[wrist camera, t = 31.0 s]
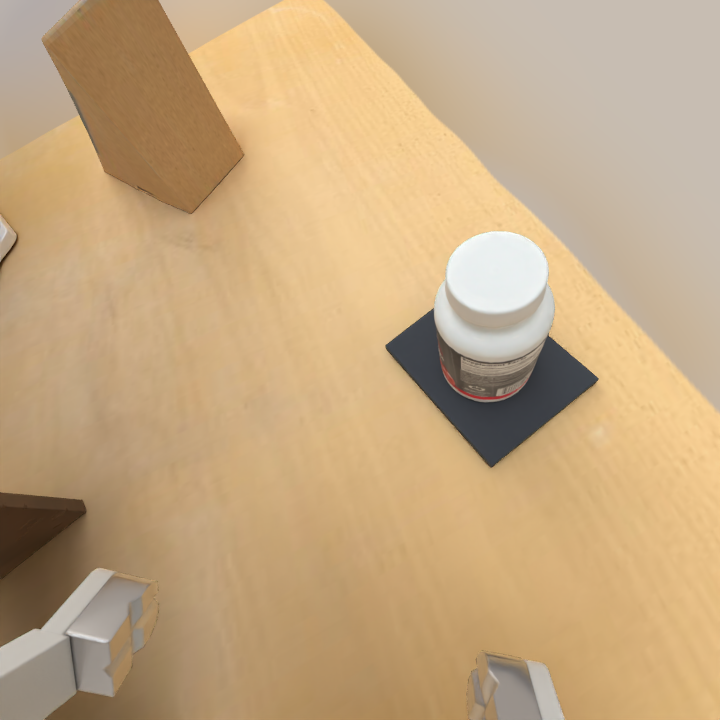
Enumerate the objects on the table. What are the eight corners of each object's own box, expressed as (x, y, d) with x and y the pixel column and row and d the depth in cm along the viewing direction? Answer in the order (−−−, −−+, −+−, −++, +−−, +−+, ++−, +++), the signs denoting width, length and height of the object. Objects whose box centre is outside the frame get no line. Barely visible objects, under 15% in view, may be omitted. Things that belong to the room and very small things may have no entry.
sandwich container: (154, 118, 45) (26, -56, 32) (247, 152, 39) (135, -47, 26) (102, 172, 44) (-58, 11, 30) (190, 216, 37) (38, 38, 24)
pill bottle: (438, 327, 26) (426, 224, 18) (525, 320, 25) (558, 207, 16) (442, 406, 24) (431, 334, 16) (537, 403, 23) (583, 323, 14)
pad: (386, 349, 27) (384, 345, 27) (476, 279, 28) (476, 274, 27) (491, 467, 23) (491, 466, 22) (596, 382, 23) (599, 378, 23)
